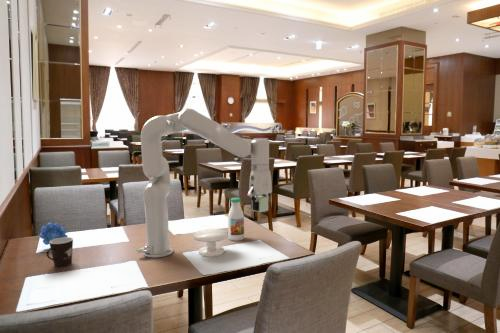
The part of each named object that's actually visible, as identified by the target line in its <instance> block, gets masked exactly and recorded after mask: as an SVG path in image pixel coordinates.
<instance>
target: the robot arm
mask: <svg viewBox="0 0 500 333" xmlns="http://www.w3.org/2000/svg"><path fill="white" fill-rule="evenodd" d="M183 131H189V132H191V133H193V134H195V135H197V136H199V137H201V138H203V139H205V140H206V141H209V142H210V143H211V144H214V145H216V146H217V147H220V148H221V149H224V150H226V151H227V152H228V153H231V154H232V155H235V156H236V157H238V158H246V157H248V156H249V155H250V156H251V165H250V169H251V170H250V175H249V186H248V188H249V189H248V193H247V195H246V196H248V198H250V200H251V202H252V201H253V210H255V211H254V212H256V211H259V202H258V197H259V195H260V196H266V197H268V200H269V199H270V196H271V193H272V192H273V185H272V174H271V170H270V141H269V140H268V139H267V138H266V139H265V138H254V139H251V138H250V139H249V138H242V137H240V136H239V135H237V134H235V133H233V132H231V131H230V130H228V129H227V128H225V127H224V126H223V125H222V124H220V123H219V122H217V121H214V120H213V119H211V118H209V117H207V116H205V115H204V114H202V113H200V112H198V111H197V110H195V109H192V108H189V107H188V108H184V109H182V110H181V111H179V112H176V113H175V112H174V113H171V114H167V115H166V114H165V115H164V114H163V115H156V116H154V117H151V118H150V119H148V120H147V121H146V122H145V123H144V125H143V126H142V128H141V132H140V147H141V161H142V163H141V164H142V172H143V174H144V176H146V178H148V184H147V185H146V186H145V188H144V190H143V192H142V199H143V205H144V213H145V214H144V218H145V233H146V234H145V235H146V237H145V238H146V243H145V244H144V246H143V247H140V248H137V249H136V253H137V254H141V253H142V254H143V256H145V257H146V258H164V257H167V256H168V257H169V256H170V255H172V254H173V252H174V248H172V247H171V246H170V233H169V232H170V231H169V212H168V204H167V197H169V195H170V193H171V189H172V188H171V176H170V173H171V172H170V166H169V165H170V164H169V162H168V160H167V159H166V158H165V156H163V144H162V137H163V136H169V135H173V134H177V133H180V132H183ZM255 196H256V198H255Z"/></svg>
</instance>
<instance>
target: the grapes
mask: <svg viewBox="0 0 500 333" xmlns="http://www.w3.org/2000/svg"><path fill="white" fill-rule="evenodd" d="M40 231H41V232H40V233H39V234H38V236H39V238H40V239H42V243H43V244H44V245H46V246H48V245H50V243H49V242H50V241H51V240H53V239H57V238H63V237H69V236H68V235H67V232H68V231H67V229H66V228H65V227H62V225H61V224H60V223H52V222H48V223H46V226H45V225H43V226H41V227H40Z"/></svg>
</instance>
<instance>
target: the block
mask: <svg viewBox="0 0 500 333" xmlns="http://www.w3.org/2000/svg"><path fill="white" fill-rule="evenodd" d="M255 198H256V196H255ZM258 202H259V211H255V210H253V201H251V212H257V213H264V212H268V211H269V199H268V197H266V196H262V195H259V197H258Z"/></svg>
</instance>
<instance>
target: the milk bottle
mask: <svg viewBox="0 0 500 333" xmlns="http://www.w3.org/2000/svg"><path fill="white" fill-rule="evenodd" d="M230 204H231V206H230V209H229V211H228V214H227V215H228V216H227V219H228V220H227V221H228V222H227V223H228V224H227V226H228V229H227V232H228V240H230V241H233V242H234V241H235V242H236V241H243V240H244V239H245V214H244V211H243V209H242V206H241V197H231V198H230Z"/></svg>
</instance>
